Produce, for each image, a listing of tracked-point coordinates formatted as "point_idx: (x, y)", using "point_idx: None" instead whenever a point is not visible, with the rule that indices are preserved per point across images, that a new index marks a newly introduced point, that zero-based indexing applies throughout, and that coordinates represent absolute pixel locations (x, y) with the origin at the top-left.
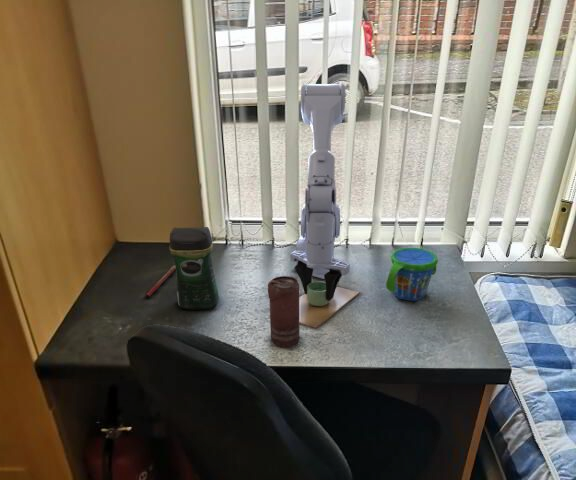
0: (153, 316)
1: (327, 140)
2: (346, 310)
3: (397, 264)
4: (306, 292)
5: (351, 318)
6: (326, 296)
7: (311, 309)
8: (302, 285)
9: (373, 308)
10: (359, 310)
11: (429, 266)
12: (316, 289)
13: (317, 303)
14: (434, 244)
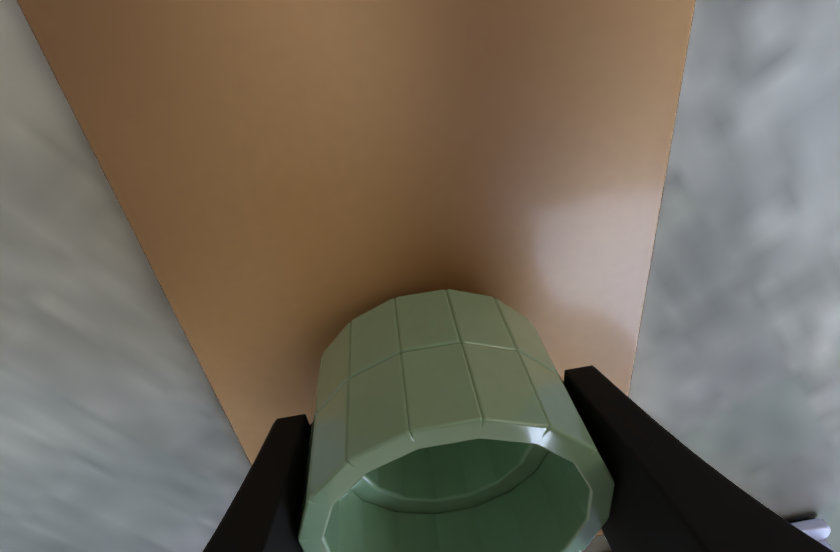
0: None
1: None
2: (179, 422)
3: None
4: (574, 383)
5: (17, 367)
6: (288, 449)
7: (399, 239)
8: (670, 434)
9: (79, 537)
10: (112, 474)
11: None
12: (514, 473)
13: (365, 325)
14: None
